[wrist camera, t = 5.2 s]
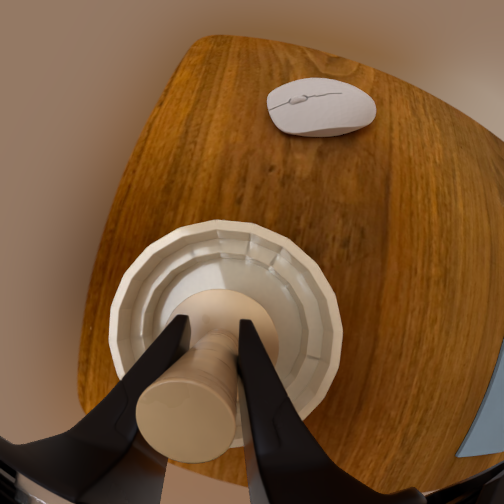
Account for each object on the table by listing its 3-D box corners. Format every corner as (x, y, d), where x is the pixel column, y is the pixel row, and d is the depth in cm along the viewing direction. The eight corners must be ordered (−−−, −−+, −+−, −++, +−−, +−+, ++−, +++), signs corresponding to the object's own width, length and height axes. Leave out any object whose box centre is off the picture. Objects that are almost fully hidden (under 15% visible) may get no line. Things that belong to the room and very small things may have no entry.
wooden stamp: (248, 395, 15) (264, 542, 3) (164, 357, 15) (40, 442, 3) (285, 313, 16) (392, 338, 4) (200, 276, 16) (107, 213, 4)
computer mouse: (260, 94, 22) (262, 71, 19) (355, 91, 23) (365, 73, 20) (275, 144, 21) (280, 123, 18) (377, 138, 22) (391, 120, 19)
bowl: (273, 439, 17) (282, 470, 12) (114, 369, 17) (84, 383, 13) (346, 282, 19) (373, 277, 15) (181, 211, 20) (166, 186, 15)
